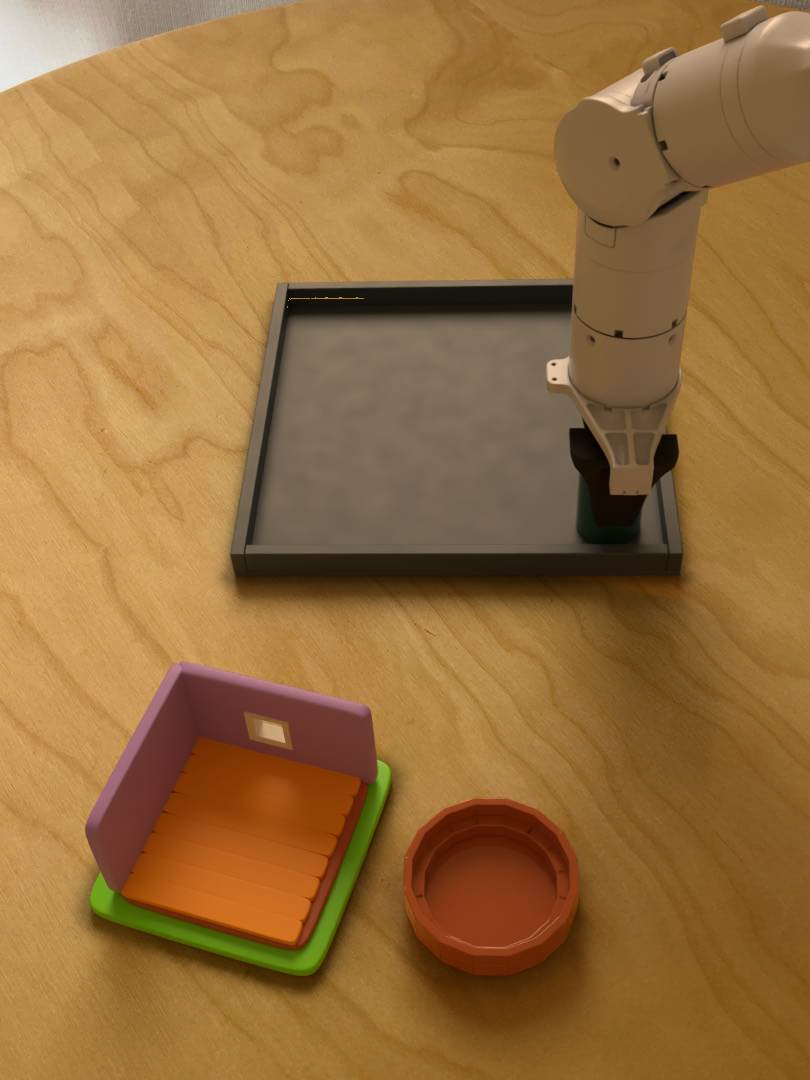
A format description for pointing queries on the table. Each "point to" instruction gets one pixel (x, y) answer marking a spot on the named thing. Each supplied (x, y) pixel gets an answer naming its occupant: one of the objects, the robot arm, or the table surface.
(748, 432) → the table surface
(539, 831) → the dish
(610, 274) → the robot arm
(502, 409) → the tray
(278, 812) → the miniature room corner
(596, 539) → the bottle
